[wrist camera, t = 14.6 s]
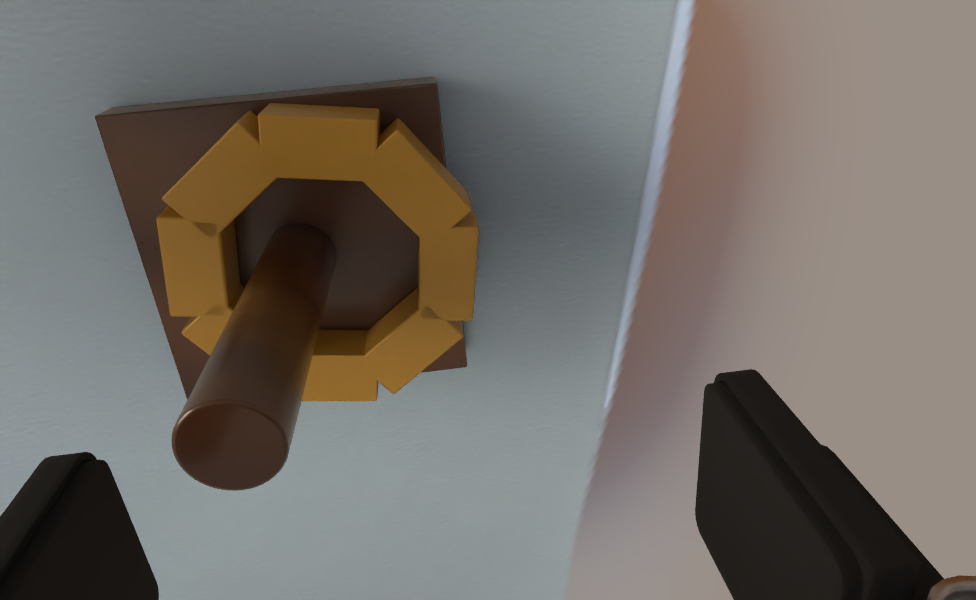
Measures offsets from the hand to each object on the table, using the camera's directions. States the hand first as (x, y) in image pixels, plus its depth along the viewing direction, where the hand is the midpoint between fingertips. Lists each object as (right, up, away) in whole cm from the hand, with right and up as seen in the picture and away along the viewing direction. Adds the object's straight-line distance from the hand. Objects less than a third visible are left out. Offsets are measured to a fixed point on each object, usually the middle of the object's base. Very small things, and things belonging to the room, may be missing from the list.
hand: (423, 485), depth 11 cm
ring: (-4, +4, +9) cm, 11 cm away
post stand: (-5, +5, +10) cm, 12 cm away
